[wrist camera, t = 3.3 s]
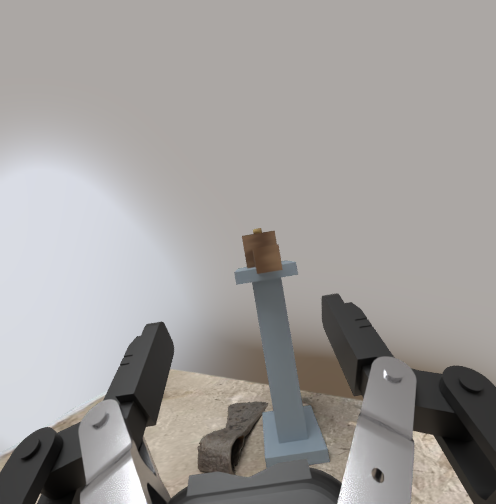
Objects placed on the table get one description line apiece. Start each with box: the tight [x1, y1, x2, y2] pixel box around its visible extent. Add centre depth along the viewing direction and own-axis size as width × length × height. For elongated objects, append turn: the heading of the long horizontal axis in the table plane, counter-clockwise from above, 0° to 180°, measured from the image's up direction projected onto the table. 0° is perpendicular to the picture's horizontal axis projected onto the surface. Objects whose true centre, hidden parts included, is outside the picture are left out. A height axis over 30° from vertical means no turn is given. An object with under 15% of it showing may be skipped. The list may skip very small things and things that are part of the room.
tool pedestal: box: [235, 261, 330, 468], centre depth 43 cm, size 10×11×32 cm
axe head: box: [198, 402, 268, 475], centre depth 48 cm, size 20×5×10 cm
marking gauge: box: [242, 228, 283, 274], centre depth 38 cm, size 6×21×7 cm, turn 179°
